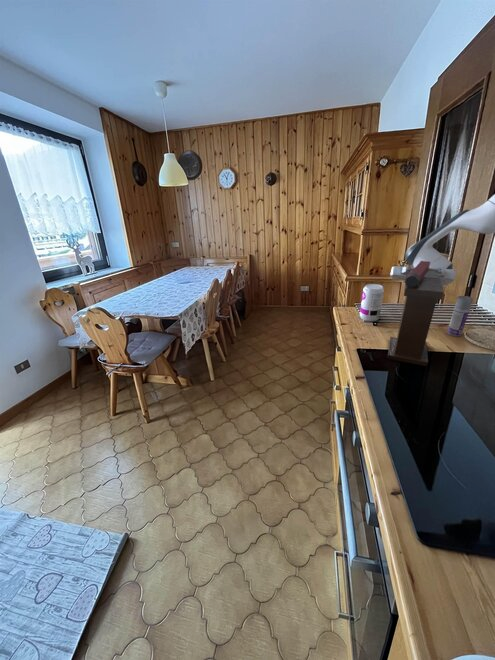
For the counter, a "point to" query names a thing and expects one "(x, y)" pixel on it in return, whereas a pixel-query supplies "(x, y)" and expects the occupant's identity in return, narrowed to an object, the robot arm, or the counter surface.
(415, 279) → the maroon rod
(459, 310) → the container
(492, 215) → the robot arm
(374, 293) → the supplement can
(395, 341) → the shelf stand
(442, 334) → the counter surface
